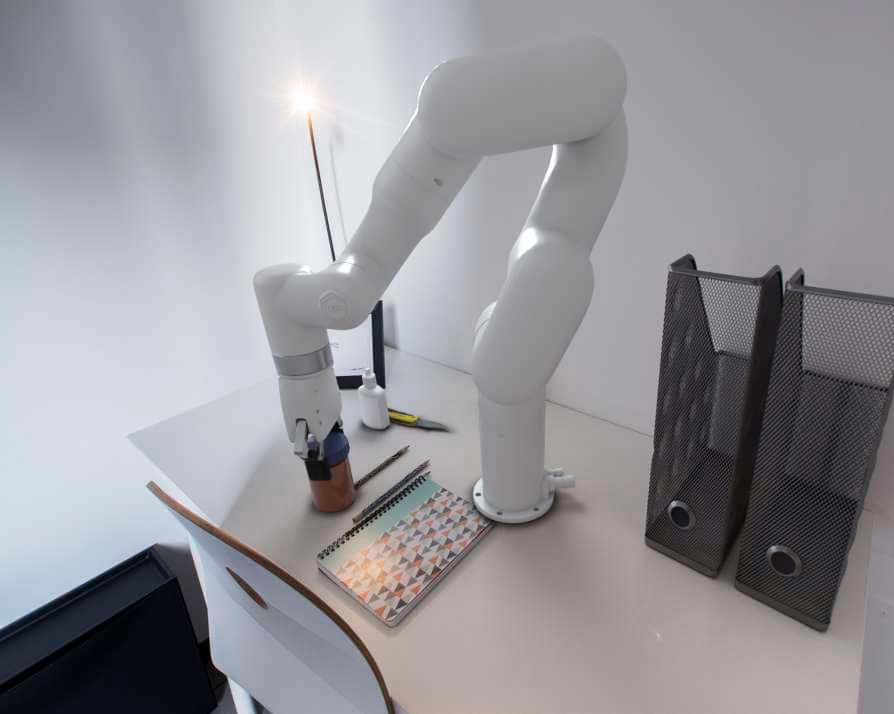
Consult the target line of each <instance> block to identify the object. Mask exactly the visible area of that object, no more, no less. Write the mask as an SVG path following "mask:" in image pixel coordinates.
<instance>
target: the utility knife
mask: <svg viewBox="0 0 894 714" xmlns="http://www.w3.org/2000/svg"><path fill="white" fill-rule="evenodd" d="M388 414H389V420H390V422H393V423H397V424H402V425H406V426H409V427H415V426H416V427H421V428H428V429H429V428H430V429H446V430H450V428H449V427H448V426H447V425H445V424H443V423H440V422H437V421H433V420H429V419H424V418H421V417H420V416H419V415H414V414H409V413H406V412H403V411H399V410H395V409H392V408H389V407H388Z"/></svg>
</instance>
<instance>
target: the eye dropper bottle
mask: <svg viewBox="0 0 894 714" xmlns="http://www.w3.org/2000/svg"><path fill="white" fill-rule="evenodd" d="M364 371H365V372H364V373H363V374H362V376H361V380H362V385H361V386H359V387H358V388H357V396H358V403H359V408H360V413H361V419H362V422H363V424H364V425H365V426H367V427H368V428H371V429H374V430H384V429H386V428H388V427H389V426H390V424H391V420H389V414H388V408H389V407H388V402H387V396H386V392H385V390H384V388H382V387H381V386H380V385H379V384H378V383H377V377H376V373H374V372H371V368H369V367H366V368H365V369H364Z"/></svg>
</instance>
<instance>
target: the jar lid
mask: <svg viewBox="0 0 894 714" xmlns="http://www.w3.org/2000/svg"><path fill="white" fill-rule="evenodd" d="M309 438H316V437H314V436H313V435H311V436H310V437H309ZM323 445H324V456H327V458H328V463H329V466H331V465H334V464H336V463H338V462H340V461H342V460H343V459H344V458H346V456H347V455H348V456H349V453H350V450H351V446H350V443H349V438H348V437H347V435H346V434H345V433H344V434H343V433H340V432H334V431H332V432H329V434H328V435H327V437H326V438H325V439H324V440H323ZM308 448H309V449H310V450H315V451H317V443H308Z"/></svg>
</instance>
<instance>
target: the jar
mask: <svg viewBox="0 0 894 714" xmlns="http://www.w3.org/2000/svg"><path fill="white" fill-rule="evenodd" d="M303 463H304V467H305V472H306V475H307V480H308V483H309V488H310V492H311V496H312V501H313V504H314V507H315V508H316V509H317V510H318V511H321V512H325V513H334V512H338V511H339V512H340V511H342V510H344V509H346V508H348V507H349V506H350V505H352V504H353V502H355V500H356V497H357V493H356V489H355V483H354V478H353V477H354V476H353V472H352V467H351V463H350V455H349V454H348V455H347V456H346V458H344V459H343V460H342V461H340V462H338V463H336V464H334V465H331V466H329V467H330V471H331V475H332V478H331V480H330V481H311V480H310V479H309V476H308V472H307V468H306V465H305V461H303Z"/></svg>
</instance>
